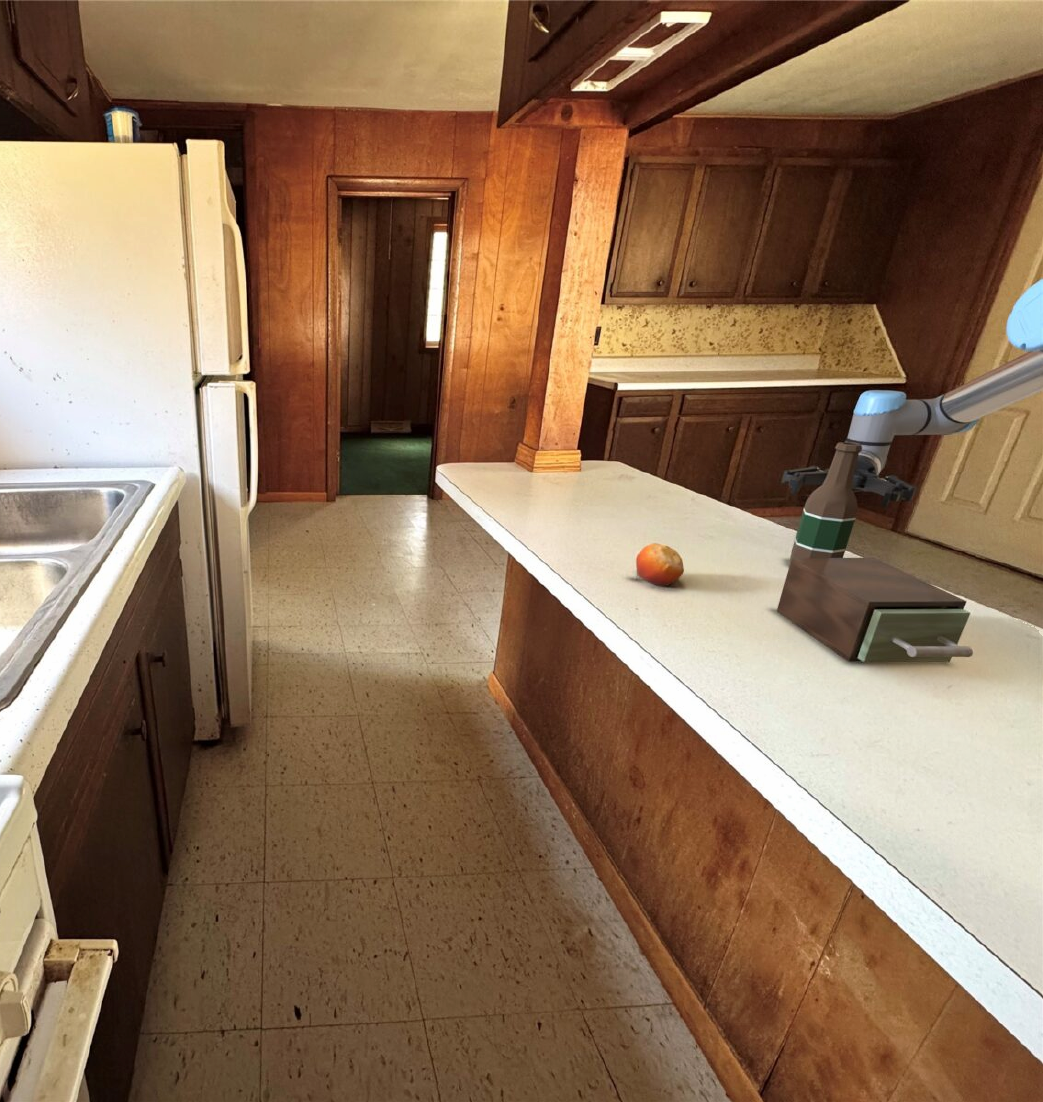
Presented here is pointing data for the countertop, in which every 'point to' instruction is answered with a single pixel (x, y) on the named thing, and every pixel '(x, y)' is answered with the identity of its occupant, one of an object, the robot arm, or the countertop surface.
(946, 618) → the drawer
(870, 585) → the cabinet
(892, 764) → the countertop surface
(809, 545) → the beer bottle
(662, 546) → the fruit
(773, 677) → the countertop surface
